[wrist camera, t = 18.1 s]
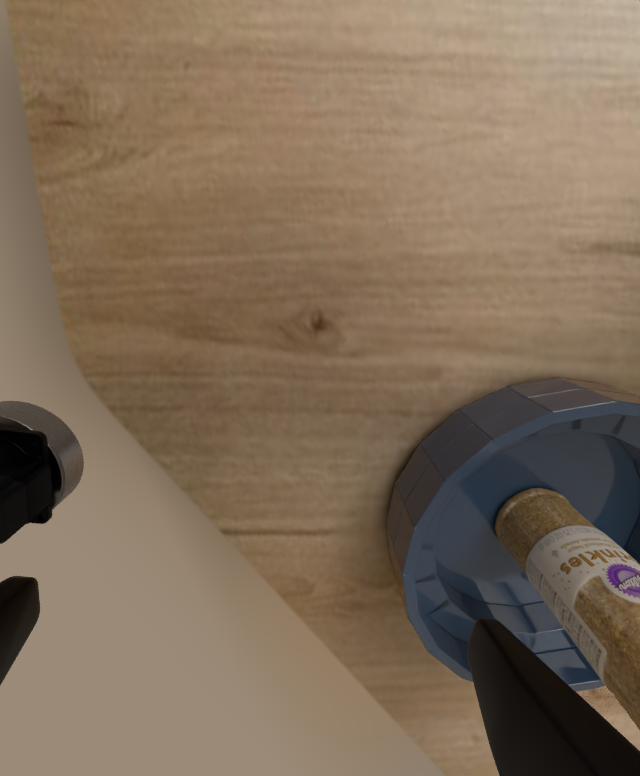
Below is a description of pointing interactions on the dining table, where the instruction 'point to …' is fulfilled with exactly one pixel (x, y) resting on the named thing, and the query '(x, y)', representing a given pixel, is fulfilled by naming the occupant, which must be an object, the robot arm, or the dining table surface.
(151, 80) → the dining table surface
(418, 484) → the bowl
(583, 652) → the sprinkles bottle
